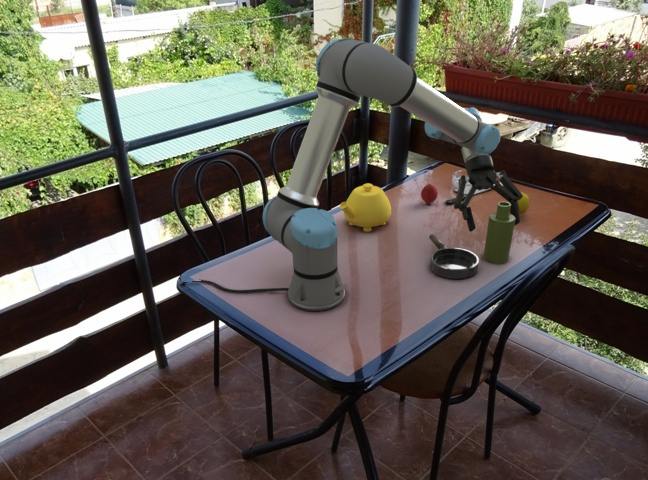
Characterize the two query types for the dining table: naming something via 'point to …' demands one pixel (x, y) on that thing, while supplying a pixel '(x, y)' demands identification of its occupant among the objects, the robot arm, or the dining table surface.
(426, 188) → the onion
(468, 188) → the cleaver
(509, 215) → the oil bottle
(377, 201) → the teapot
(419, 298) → the dining table surface
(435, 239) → the pan handle
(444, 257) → the pan
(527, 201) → the lemon
